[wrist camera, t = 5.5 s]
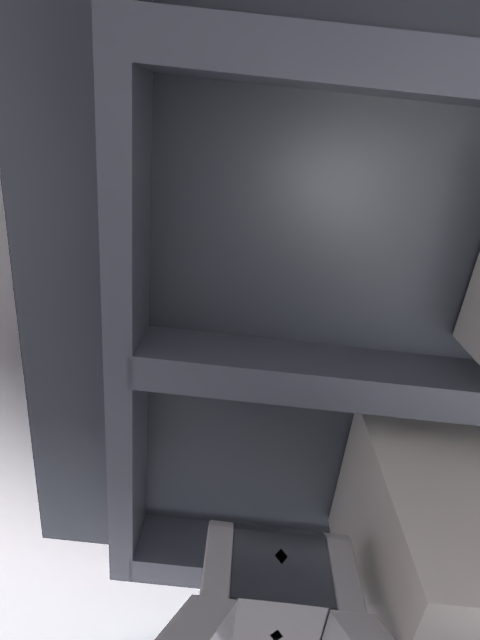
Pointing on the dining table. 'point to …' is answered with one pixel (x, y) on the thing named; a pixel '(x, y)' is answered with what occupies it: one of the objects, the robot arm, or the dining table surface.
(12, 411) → the dining table surface
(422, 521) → the tab
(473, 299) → the tab
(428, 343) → the switch bank
